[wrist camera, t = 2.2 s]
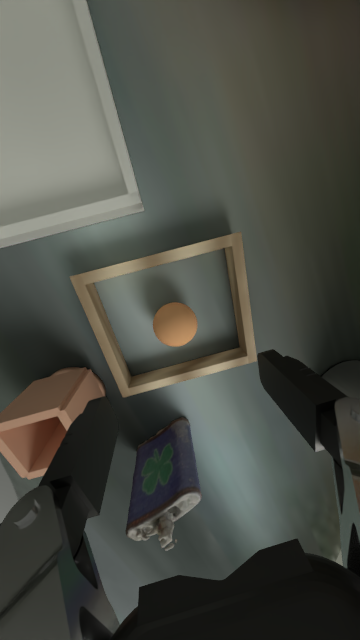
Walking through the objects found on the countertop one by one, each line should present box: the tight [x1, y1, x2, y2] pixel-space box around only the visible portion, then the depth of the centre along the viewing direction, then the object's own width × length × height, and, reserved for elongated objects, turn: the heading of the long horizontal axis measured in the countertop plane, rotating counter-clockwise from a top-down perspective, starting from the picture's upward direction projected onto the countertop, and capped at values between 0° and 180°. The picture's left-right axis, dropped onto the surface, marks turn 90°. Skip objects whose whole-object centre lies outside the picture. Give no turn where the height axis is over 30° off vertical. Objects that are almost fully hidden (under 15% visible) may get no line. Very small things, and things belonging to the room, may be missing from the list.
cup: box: [0, 367, 106, 479], centre depth 20 cm, size 7×7×7 cm
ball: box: [153, 302, 197, 347], centre depth 19 cm, size 4×4×4 cm
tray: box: [0, 0, 144, 248], centre depth 14 cm, size 16×14×3 cm
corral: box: [70, 232, 257, 398], centre depth 20 cm, size 16×14×2 cm
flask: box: [126, 417, 202, 551], centre depth 22 cm, size 9×3×11 cm, turn 128°
